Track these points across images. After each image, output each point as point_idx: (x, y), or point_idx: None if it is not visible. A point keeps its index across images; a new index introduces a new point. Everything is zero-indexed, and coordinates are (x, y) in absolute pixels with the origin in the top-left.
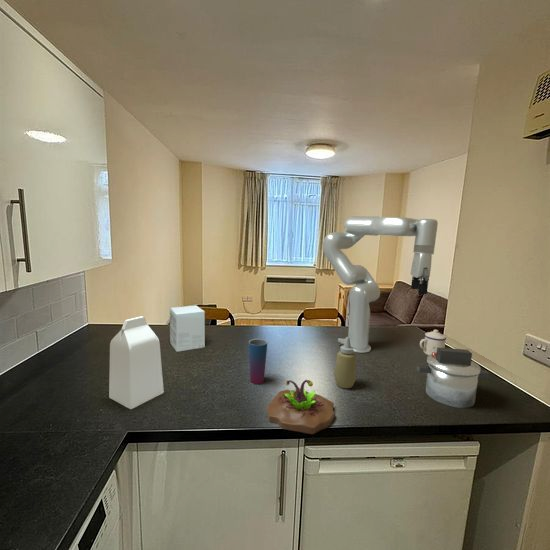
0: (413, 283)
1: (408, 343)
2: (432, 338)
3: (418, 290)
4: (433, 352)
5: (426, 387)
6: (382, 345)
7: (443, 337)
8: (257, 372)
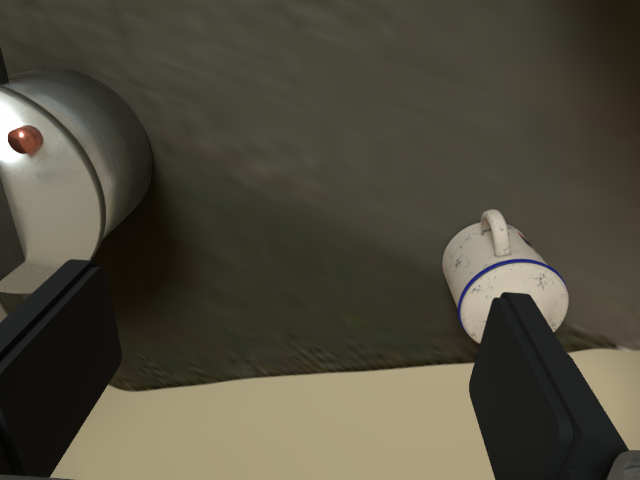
0: (523, 381)
1: (631, 191)
2: (475, 279)
3: (52, 280)
4: (28, 140)
5: (58, 72)
6: (615, 19)
7: (471, 332)
8: None
